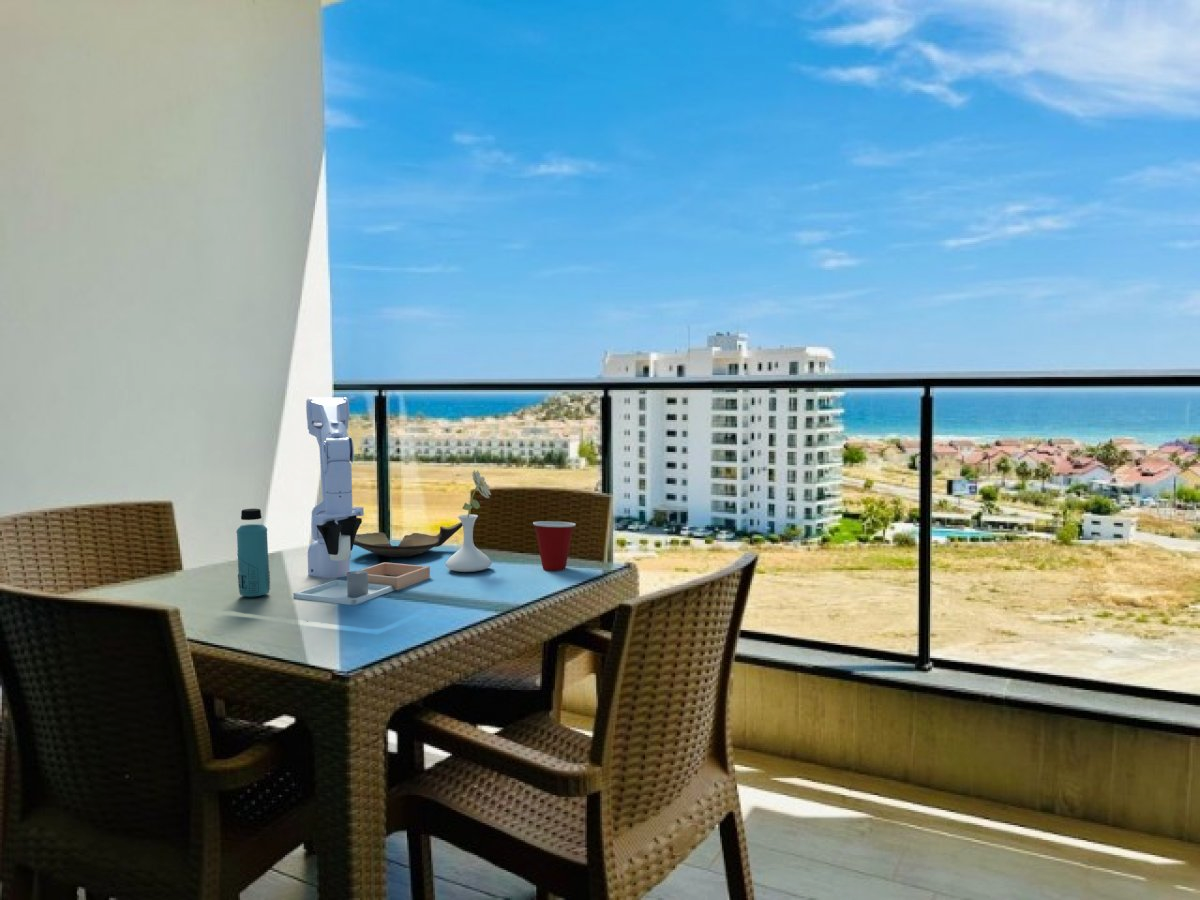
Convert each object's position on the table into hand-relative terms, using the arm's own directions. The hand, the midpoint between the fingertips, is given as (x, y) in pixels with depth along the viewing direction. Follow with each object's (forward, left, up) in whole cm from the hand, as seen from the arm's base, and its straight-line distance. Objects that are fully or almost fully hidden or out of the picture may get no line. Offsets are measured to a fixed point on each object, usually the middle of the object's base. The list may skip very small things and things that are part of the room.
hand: (340, 552), depth 198 cm
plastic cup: (+33, +41, -10) cm, 54 cm away
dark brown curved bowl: (-12, +42, -10) cm, 45 cm away
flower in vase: (+14, +32, -10) cm, 37 cm away
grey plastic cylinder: (+7, -3, -9) cm, 11 cm away
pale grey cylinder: (0, 0, -1) cm, 1 cm away
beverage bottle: (-14, -12, -10) cm, 20 cm away
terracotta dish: (+5, +11, -9) cm, 15 cm away
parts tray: (+3, -3, -9) cm, 10 cm away
